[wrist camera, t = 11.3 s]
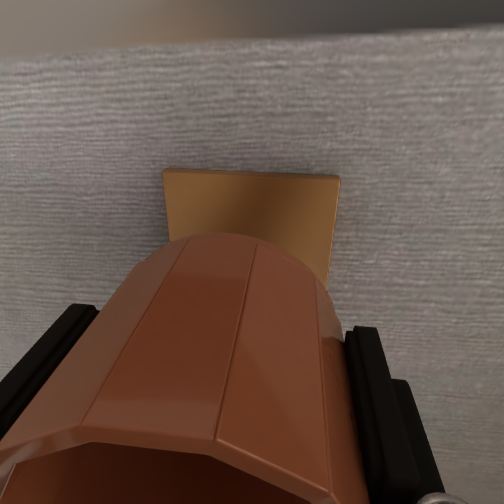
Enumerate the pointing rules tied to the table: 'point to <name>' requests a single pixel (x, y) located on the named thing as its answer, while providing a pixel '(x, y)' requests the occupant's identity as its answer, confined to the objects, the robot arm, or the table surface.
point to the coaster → (257, 209)
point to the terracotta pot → (197, 390)
